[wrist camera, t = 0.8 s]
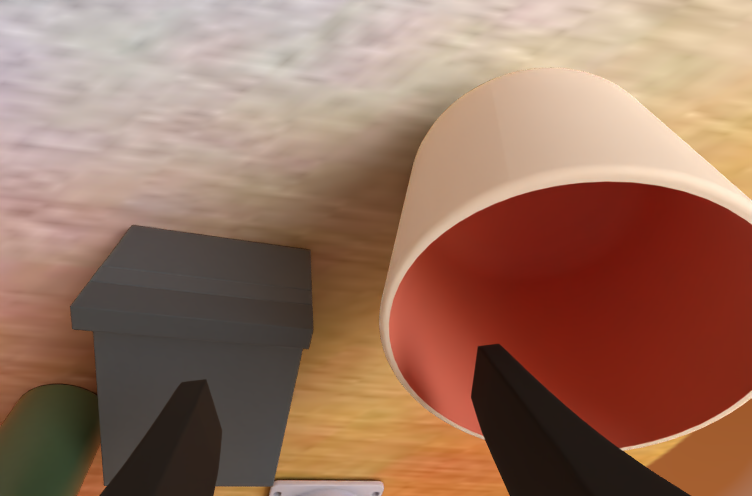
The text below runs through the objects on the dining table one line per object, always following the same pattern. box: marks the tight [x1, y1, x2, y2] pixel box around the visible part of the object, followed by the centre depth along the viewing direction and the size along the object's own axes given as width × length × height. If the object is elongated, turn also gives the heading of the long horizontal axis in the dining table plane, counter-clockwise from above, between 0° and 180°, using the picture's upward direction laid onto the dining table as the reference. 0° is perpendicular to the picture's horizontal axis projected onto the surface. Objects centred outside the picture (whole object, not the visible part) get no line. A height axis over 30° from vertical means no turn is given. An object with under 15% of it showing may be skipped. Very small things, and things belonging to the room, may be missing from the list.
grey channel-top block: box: [70, 225, 313, 487], centre depth 20 cm, size 12×8×6 cm, turn 166°
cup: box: [379, 67, 752, 451], centre depth 15 cm, size 10×10×10 cm
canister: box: [0, 384, 101, 496], centre depth 20 cm, size 5×5×8 cm
